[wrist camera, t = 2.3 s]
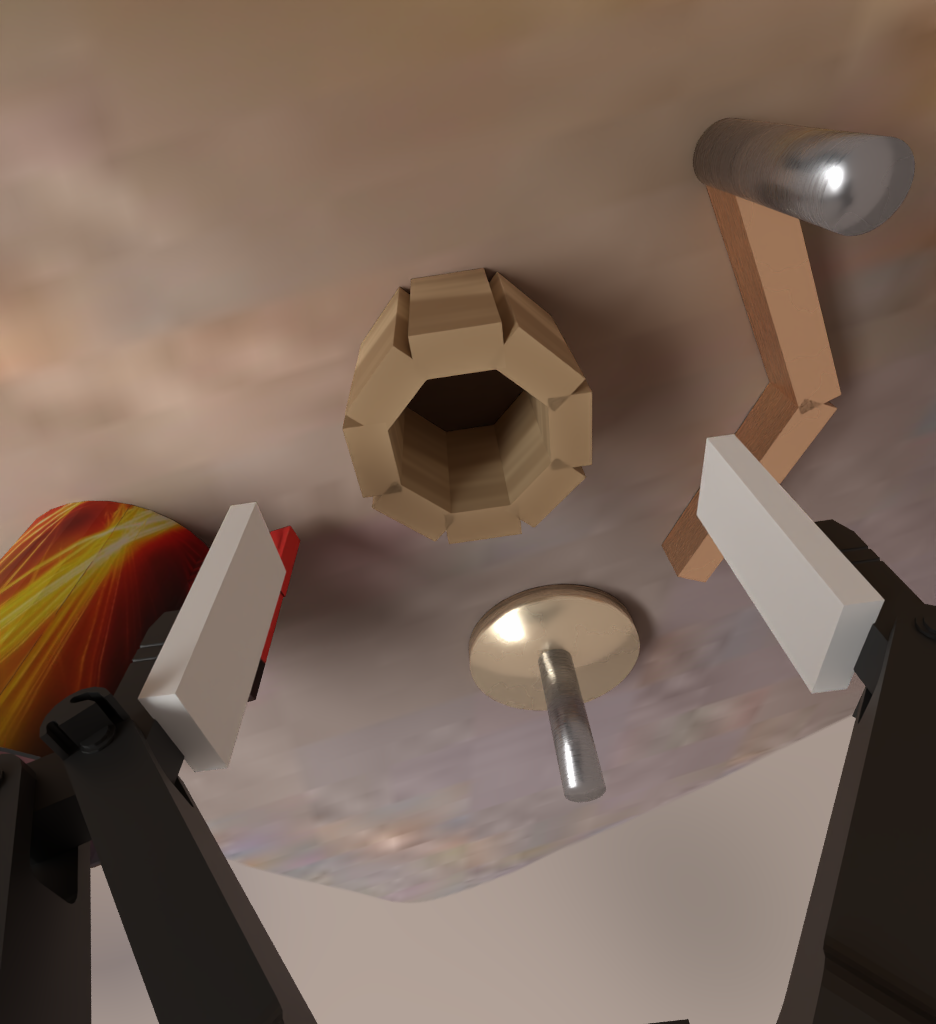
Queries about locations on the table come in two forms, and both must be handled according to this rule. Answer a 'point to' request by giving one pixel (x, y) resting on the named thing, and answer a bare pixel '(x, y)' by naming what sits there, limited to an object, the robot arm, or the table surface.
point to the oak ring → (475, 451)
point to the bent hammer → (786, 275)
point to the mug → (92, 607)
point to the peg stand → (557, 666)
